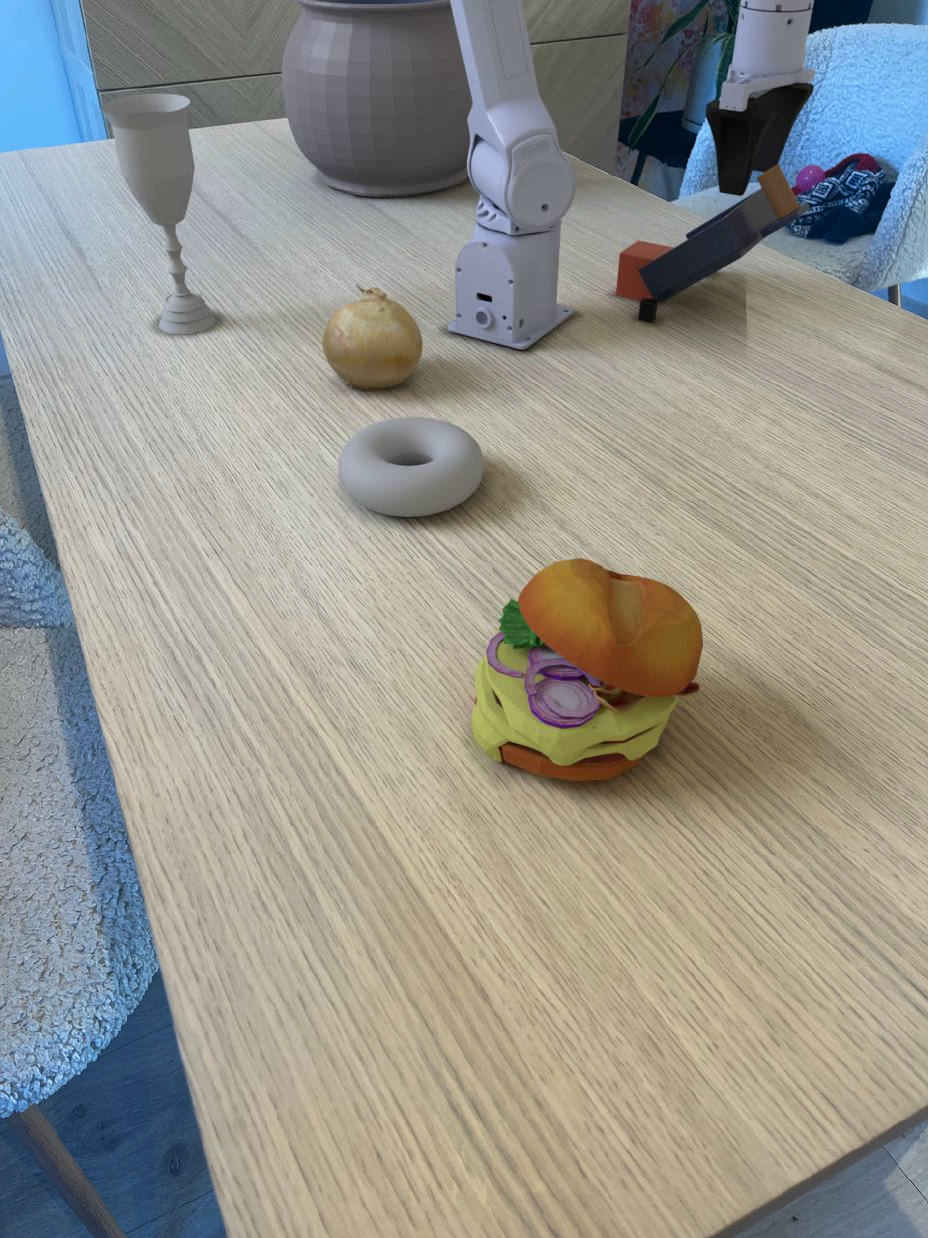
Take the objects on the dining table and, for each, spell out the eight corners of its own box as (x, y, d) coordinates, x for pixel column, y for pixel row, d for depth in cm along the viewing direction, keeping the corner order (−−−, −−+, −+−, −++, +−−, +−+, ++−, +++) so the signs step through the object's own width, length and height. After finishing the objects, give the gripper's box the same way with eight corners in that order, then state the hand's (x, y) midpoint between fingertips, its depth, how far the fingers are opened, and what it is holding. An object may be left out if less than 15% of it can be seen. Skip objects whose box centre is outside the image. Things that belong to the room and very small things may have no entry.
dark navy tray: (700, 268, 99) (677, 224, 98) (827, 195, 89) (802, 145, 88) (650, 310, 91) (623, 262, 90) (782, 235, 81) (754, 181, 80)
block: (659, 261, 91) (619, 252, 93) (654, 303, 94) (615, 295, 96) (677, 247, 94) (637, 239, 96) (671, 289, 97) (633, 281, 98)
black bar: (698, 270, 100) (700, 252, 99) (711, 272, 100) (714, 254, 99) (637, 319, 91) (639, 300, 90) (652, 322, 91) (654, 303, 90)
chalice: (206, 342, 88) (166, 117, 76) (134, 336, 89) (84, 113, 78) (237, 309, 94) (204, 95, 82) (169, 303, 95) (127, 91, 83)
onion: (443, 379, 82) (441, 294, 78) (365, 410, 78) (358, 323, 74) (383, 348, 87) (378, 266, 82) (306, 376, 83) (297, 291, 78)
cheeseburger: (429, 688, 54) (468, 526, 49) (595, 670, 59) (647, 521, 53) (513, 824, 47) (570, 650, 41) (694, 790, 51) (767, 631, 46)
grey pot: (263, 164, 129) (240, -18, 117) (437, 138, 138) (433, -33, 126) (338, 221, 112) (321, 16, 100) (531, 187, 121) (538, -5, 109)
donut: (309, 496, 69) (423, 544, 64) (303, 451, 67) (420, 498, 62) (403, 437, 75) (513, 477, 70) (400, 395, 73) (513, 433, 68)
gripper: (794, 24, 75) (762, 211, 84) (852, -3, 85) (817, 168, 93) (706, 16, 78) (683, 197, 87) (770, -10, 88) (744, 156, 96)
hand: (747, 181), depth 90 cm, fingers open, 7 cm apart
